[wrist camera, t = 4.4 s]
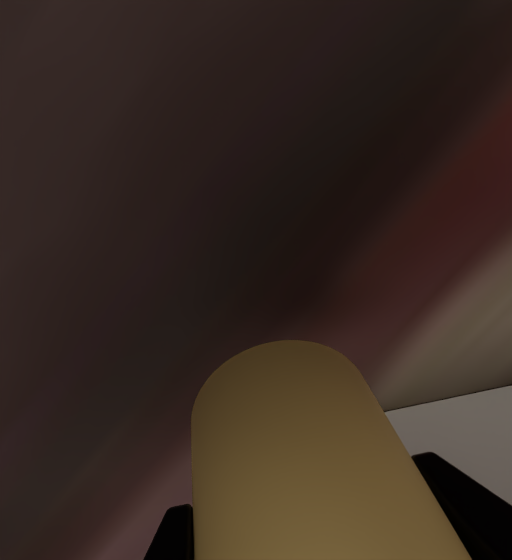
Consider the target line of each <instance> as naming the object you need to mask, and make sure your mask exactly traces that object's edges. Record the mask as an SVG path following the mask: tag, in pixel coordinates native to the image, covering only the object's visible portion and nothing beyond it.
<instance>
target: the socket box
mask: <svg viewBox="0 0 512 560" xmlns="http://www.w3.org/2000/svg"><path fill="white" fill-rule="evenodd" d="M384 413H385V415H386V416H387V418H388V420H389V421H390V423H391V425H392V426H393V428H394V430H395V431H396V433H397V435H398V436H399V438H400V440H401V441H402V443H403V445H404V446H405V448H406V450H407V451H408V453H409V455H410V456H412V455H415V454H420V453H424V452H434V453H436V454H437V455H439V456H440V457H442V458H443V459H445V460H446V461H448V462H449V463H450V464H452V465H453V466H455V467H456V468H458V469H459V470H461V471H462V472H464V473H465V474H467V475H468V476H470V477H471V478H472V479H474V480H475V481H477V482H478V483H480V484H481V485H483V486H484V487H486V488H487V489H489V490H490V491H491V492H493V493H494V494H496V495H497V496H499V497H500V498H502V499H503V500H505V501H506V502H508V503H509V504H510V505H512V385H511V386H507V387H502V388H497V389H492V390H487V391H483V392H478V393H473V394H468V395H464V396H459V397H454V398H449V399H445V400H440V401H435V402H430V403H425V404H421V405H416V406H411V407H406V408H402V409H397V410H392V411H387V412H384Z"/></svg>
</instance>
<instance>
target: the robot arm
mask: <svg viewBox="0 0 512 560" xmlns="http://www.w3.org/2000/svg"><path fill="white" fill-rule="evenodd" d="M411 458H412V460H413V461H414V463H415V465H416V466H417V468H418V470H419V471H420V473H421V475H422V476H423V478H424V480H425V481H426V483H427V485H428V487H429V488H430V490H431V492H432V493H433V495H434V497H435V498H436V500H437V502H438V503H439V505H440V507H441V508H442V510H443V512H444V513H445V515H446V517H447V518H448V520H449V522H450V523H451V525H452V527H453V528H454V530H455V532H456V533H457V535H458V537H459V538H460V540H461V542H462V543H463V545H464V547H465V548H466V550H467V552H468V553H469V555H470V557H471V559H472V560H512V505H510V504H509V503H508V502H506V501H505V500H503V499H502V498H500V497H499V496H497V495H496V494H494V493H493V492H491V491H490V490H489V489H487V488H486V487H484V486H483V485H481V484H480V483H478V482H477V481H475V480H474V479H472V478H471V477H470V476H468V475H467V474H465V473H464V472H462V471H461V470H459V469H458V468H456V467H455V466H453V465H452V464H450V463H449V462H448V461H446V460H445V459H443V458H442V457H440V456H439V455H437V454H436V453H434V452H424V453H420V454H415V455H412V456H411ZM143 560H194V544H193V508H192V506H191V505H190V504H184V505H179V506H175V507H171V508H169V509H168V510H167V511H166V513H165V515H164V517H163V519H162V521H161V524H160V526H159V528H158V530H157V532H156V534H155V536H154V538H153V540H152V543H151V545H150V547H149V549H148V551H147V553H146V555H145V557H144V559H143Z"/></svg>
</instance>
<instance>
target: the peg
mask: <svg viewBox="0 0 512 560" xmlns="http://www.w3.org/2000/svg"><path fill="white" fill-rule="evenodd" d="M191 452H192V499H193V544H194V560H472V559H471V557H470V555H469V553H468V552H467V550H466V548H465V547H464V545H463V543H462V542H461V540H460V538H459V537H458V535H457V533H456V532H455V530H454V528H453V527H452V525H451V523H450V522H449V520H448V518H447V517H446V515H445V513H444V512H443V510H442V508H441V507H440V505H439V503H438V502H437V500H436V498H435V497H434V495H433V493H432V492H431V490H430V488H429V487H428V485H427V483H426V481H425V480H424V478H423V476H422V475H421V473H420V471H419V470H418V468H417V466H416V465H415V463H414V461H413V460H412V458H411V456H410V455H409V453H408V451H407V450H406V448H405V446H404V445H403V443H402V441H401V440H400V438H399V436H398V435H397V433H396V431H395V430H394V428H393V426H392V425H391V423H390V421H389V420H388V418H387V416H386V415H385V413H384V411H383V409H382V408H381V406H380V404H379V403H378V401H377V399H376V398H375V396H374V394H373V393H372V391H371V389H370V388H369V386H368V384H367V383H366V381H365V379H364V378H363V376H362V374H361V373H360V371H359V370H358V369H357V367H356V366H355V365H354V364H353V363H352V362H351V361H350V360H349V359H348V358H347V357H345V356H344V355H343V354H341V353H340V352H338V351H336V350H334V349H332V348H330V347H328V346H325V345H322V344H319V343H315V342H310V341H302V340H281V341H274V342H269V343H265V344H261V345H257V346H255V347H252V348H249V349H247V350H245V351H243V352H241V353H239V354H237V355H235V356H234V357H232V358H231V359H229V360H228V361H226V362H225V363H223V364H222V365H221V366H220V367H219V368H218V369H216V370H215V371H214V372H213V374H212V375H211V376H210V377H209V378H208V379H207V380H206V382H205V383H204V385H203V386H202V388H201V389H200V391H199V393H198V395H197V397H196V400H195V403H194V406H193V409H192V415H191Z"/></svg>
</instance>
